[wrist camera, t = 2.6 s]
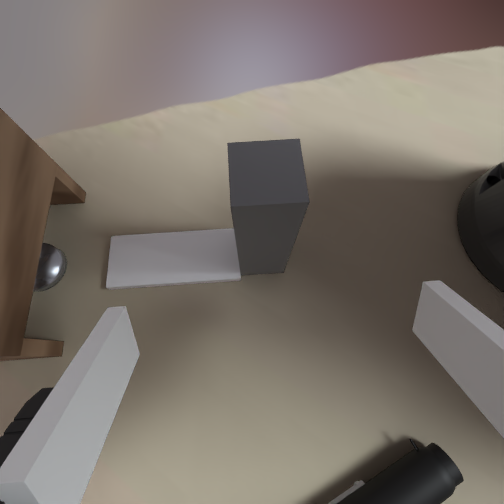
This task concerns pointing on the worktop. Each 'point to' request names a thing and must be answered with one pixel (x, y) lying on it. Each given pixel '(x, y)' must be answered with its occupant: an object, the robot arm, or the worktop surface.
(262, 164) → the grey block with plate
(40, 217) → the walnut stool
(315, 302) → the worktop surface
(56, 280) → the dark grey round piece
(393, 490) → the door handle
